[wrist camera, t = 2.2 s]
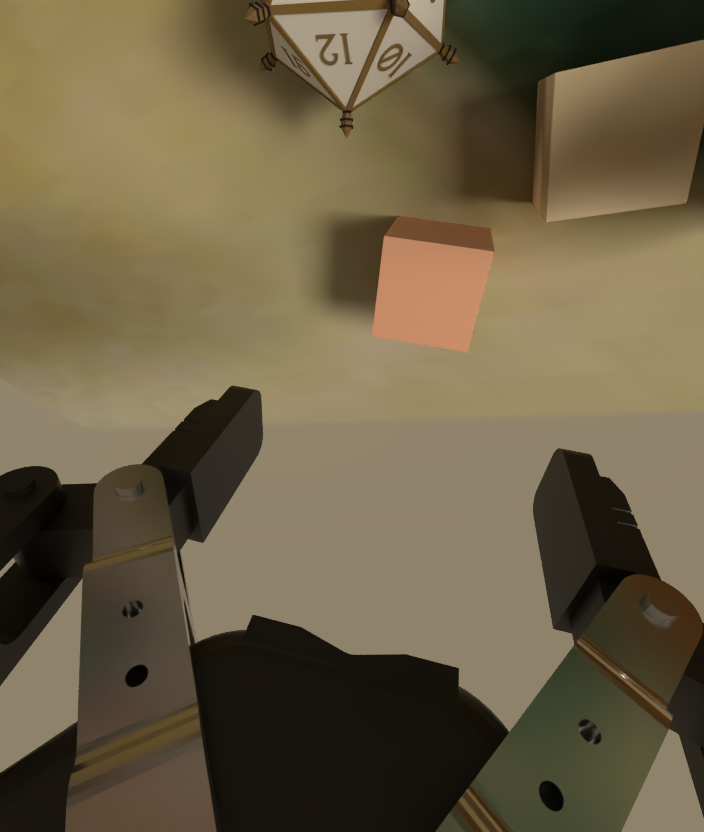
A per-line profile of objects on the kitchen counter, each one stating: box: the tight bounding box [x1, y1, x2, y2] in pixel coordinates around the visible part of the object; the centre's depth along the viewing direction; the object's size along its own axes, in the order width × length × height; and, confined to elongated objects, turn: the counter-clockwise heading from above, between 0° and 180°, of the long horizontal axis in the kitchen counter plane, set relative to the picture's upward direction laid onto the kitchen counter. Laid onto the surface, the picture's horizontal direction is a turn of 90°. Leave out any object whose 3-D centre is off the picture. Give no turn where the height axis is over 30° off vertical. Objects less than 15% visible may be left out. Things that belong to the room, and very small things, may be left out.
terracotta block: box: [372, 216, 495, 352], centre depth 23 cm, size 5×5×5 cm
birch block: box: [532, 40, 704, 222], centre depth 18 cm, size 5×5×5 cm
